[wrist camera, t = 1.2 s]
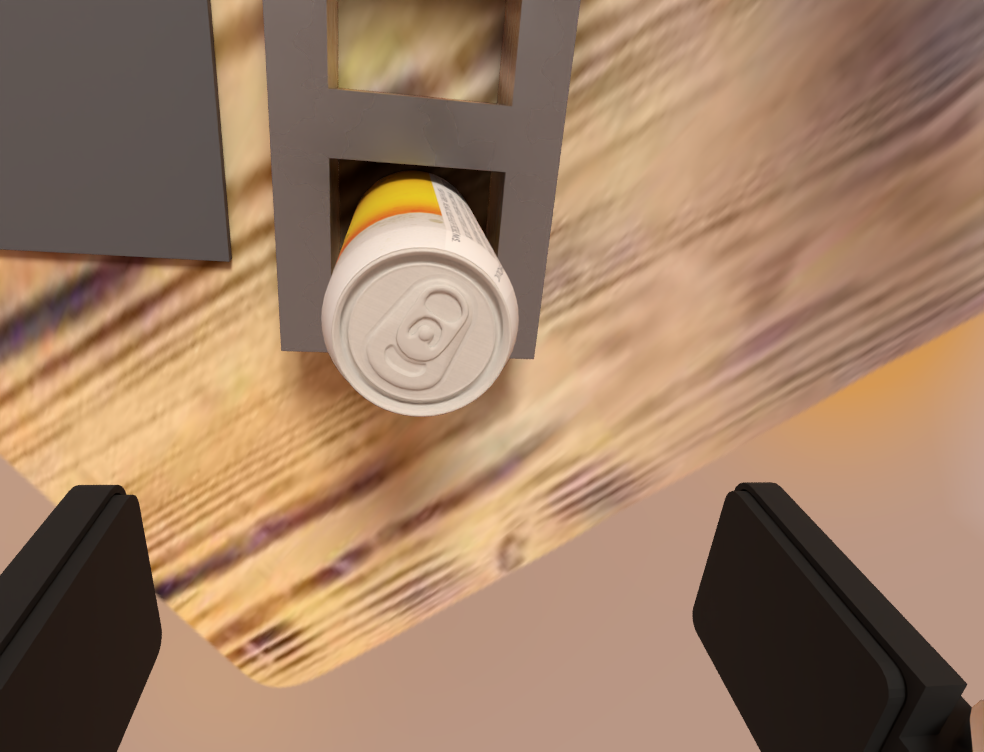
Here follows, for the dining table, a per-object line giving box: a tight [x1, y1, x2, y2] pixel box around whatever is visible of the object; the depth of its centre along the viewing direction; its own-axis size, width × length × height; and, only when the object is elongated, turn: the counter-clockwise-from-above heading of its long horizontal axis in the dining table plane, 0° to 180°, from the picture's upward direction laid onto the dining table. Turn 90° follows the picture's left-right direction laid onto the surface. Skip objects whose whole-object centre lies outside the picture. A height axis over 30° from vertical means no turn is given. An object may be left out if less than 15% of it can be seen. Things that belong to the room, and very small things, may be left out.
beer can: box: [321, 170, 519, 417], centre depth 25 cm, size 6×6×15 cm
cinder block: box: [263, 0, 580, 359], centre depth 28 cm, size 20×12×4 cm, turn 175°
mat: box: [0, 0, 232, 262], centre depth 27 cm, size 14×14×1 cm
